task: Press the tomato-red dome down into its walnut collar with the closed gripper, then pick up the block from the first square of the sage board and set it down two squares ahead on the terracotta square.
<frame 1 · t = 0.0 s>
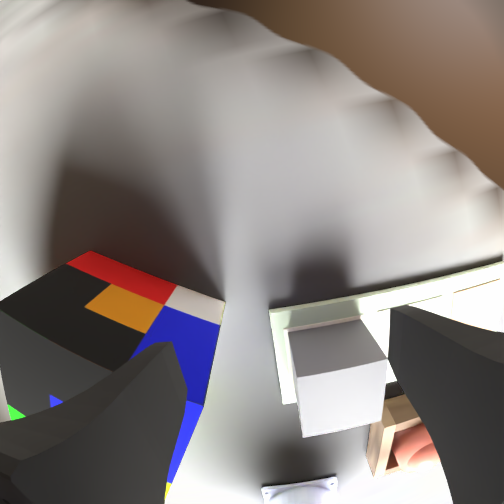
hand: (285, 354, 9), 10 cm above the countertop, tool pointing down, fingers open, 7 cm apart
block: (326, 356, 20), point 1 cm above the countertop, touching board
puzzle toy: (140, 335, 21), on the countertop
dome: (423, 448, 19), point 4 cm above the countertop, slide at 0.0 cm
collar: (408, 420, 23), on the countertop
board: (406, 333, 20), on the countertop
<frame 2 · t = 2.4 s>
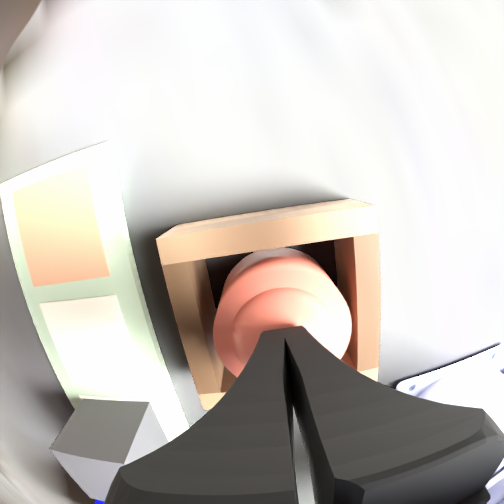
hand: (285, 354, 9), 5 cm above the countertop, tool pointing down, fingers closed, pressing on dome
block: (128, 428, 16), point 1 cm above the countertop, touching board
dome: (281, 324, 12), point 3 cm above the countertop, slide at 0.8 cm, touching gripper
collar: (276, 294, 15), on the countertop
board: (94, 339, 15), on the countertop
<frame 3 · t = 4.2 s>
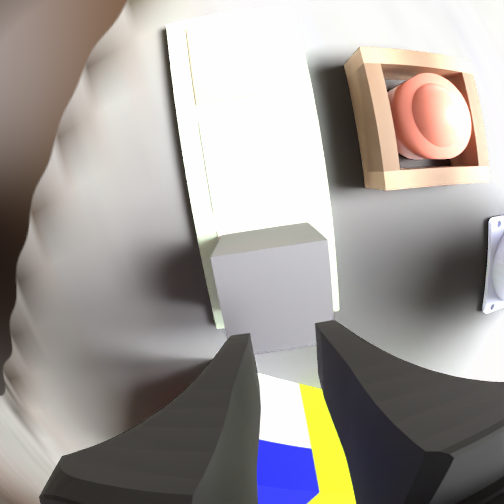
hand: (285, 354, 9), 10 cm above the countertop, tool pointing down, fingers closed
block: (271, 269, 18), point 1 cm above the countertop, touching board
puzzle toy: (254, 419, 23), on the countertop
dome: (431, 116, 14), point 3 cm above the countertop, slide at 1.3 cm
collar: (410, 122, 17), on the countertop
board: (254, 159, 17), on the countertop
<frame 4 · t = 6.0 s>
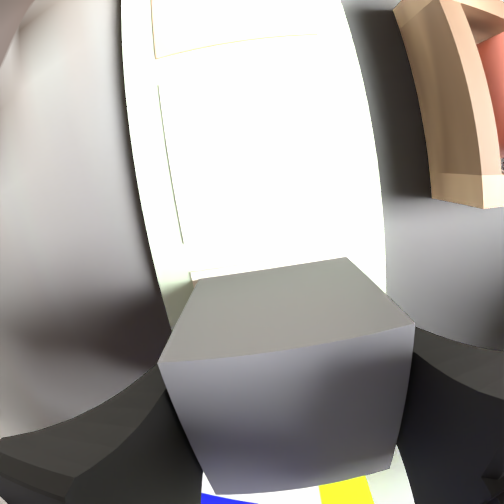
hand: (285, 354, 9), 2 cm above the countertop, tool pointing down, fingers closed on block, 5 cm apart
block: (282, 333, 11), point 1 cm above the countertop, touching board, gripper
puzzle toy: (254, 495, 15), on the countertop
collar: (486, 103, 9), on the countertop
board: (254, 147, 10), on the countertop
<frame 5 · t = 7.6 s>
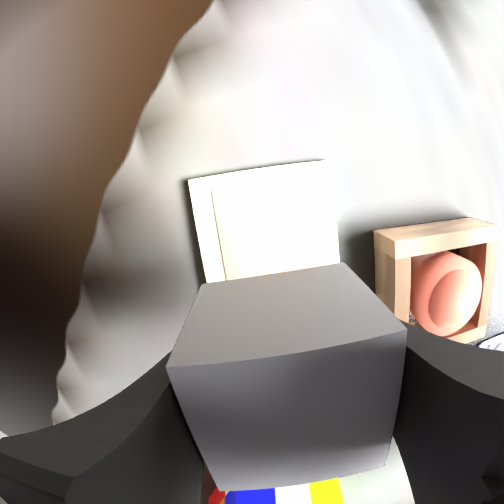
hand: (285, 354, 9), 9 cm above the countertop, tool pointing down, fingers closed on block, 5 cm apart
block: (282, 336, 11), point 8 cm above the countertop, touching gripper
puzzle toy: (268, 485, 25), on the countertop
dome: (445, 293, 16), point 3 cm above the countertop, slide at 1.3 cm
collar: (426, 280, 19), on the countertop
board: (280, 327, 20), on the countertop
when the fingers open (4 cm above the countertop, at t = 9.4 s): block drops 1 cm, resting on board.
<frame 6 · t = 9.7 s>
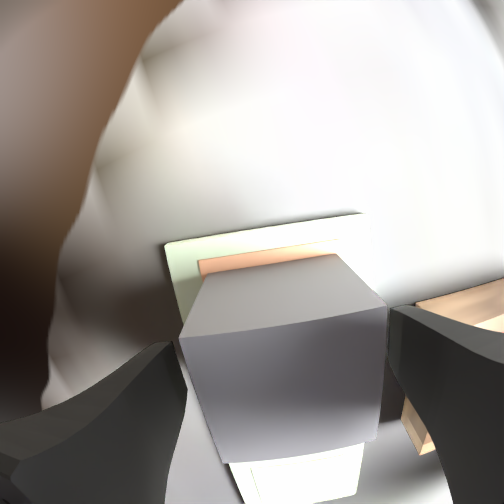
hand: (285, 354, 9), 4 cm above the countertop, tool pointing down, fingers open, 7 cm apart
block: (280, 321, 12), point 1 cm above the countertop, touching board
collar: (466, 350, 14), on the countertop
board: (292, 416, 14), on the countertop
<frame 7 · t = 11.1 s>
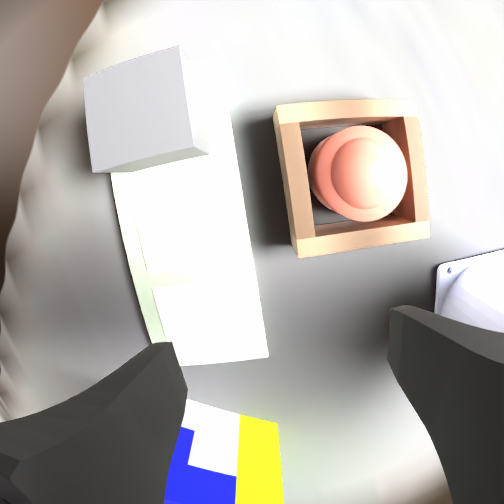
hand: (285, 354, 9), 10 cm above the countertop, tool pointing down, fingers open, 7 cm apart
block: (163, 123, 17), point 1 cm above the countertop, touching board
puzzle toy: (205, 440, 24), on the countertop
dome: (359, 173, 15), point 3 cm above the countertop, slide at 1.3 cm
collar: (345, 173, 18), on the countertop
board: (182, 222, 19), on the countertop
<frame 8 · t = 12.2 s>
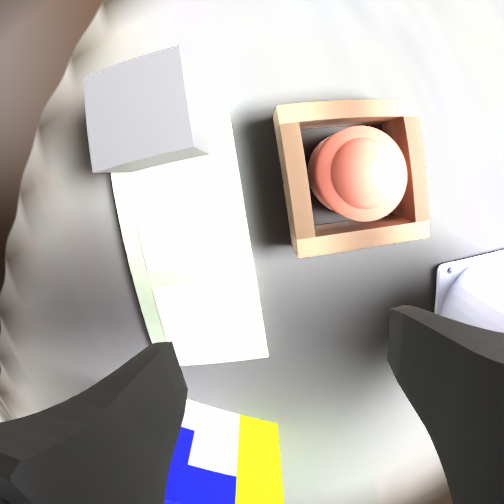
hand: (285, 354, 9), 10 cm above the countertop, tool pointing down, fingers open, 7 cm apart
block: (163, 123, 17), point 1 cm above the countertop, touching board
puzzle toy: (205, 440, 24), on the countertop
dome: (359, 173, 15), point 3 cm above the countertop, slide at 1.3 cm
collar: (345, 173, 18), on the countertop
board: (182, 222, 19), on the countertop
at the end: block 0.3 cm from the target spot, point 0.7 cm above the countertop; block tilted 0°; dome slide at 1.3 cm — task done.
